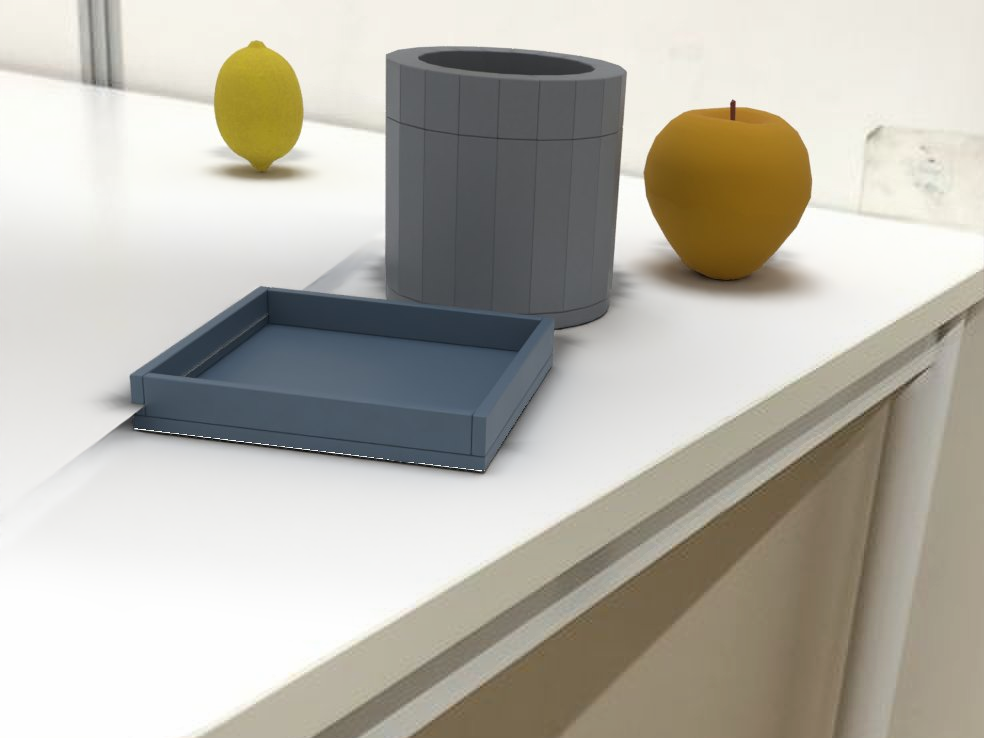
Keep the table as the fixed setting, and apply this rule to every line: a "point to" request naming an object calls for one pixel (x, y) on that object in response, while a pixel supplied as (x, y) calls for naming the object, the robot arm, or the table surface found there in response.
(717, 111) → the apple
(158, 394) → the tray
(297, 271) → the table surface
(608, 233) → the jar
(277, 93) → the lemon
